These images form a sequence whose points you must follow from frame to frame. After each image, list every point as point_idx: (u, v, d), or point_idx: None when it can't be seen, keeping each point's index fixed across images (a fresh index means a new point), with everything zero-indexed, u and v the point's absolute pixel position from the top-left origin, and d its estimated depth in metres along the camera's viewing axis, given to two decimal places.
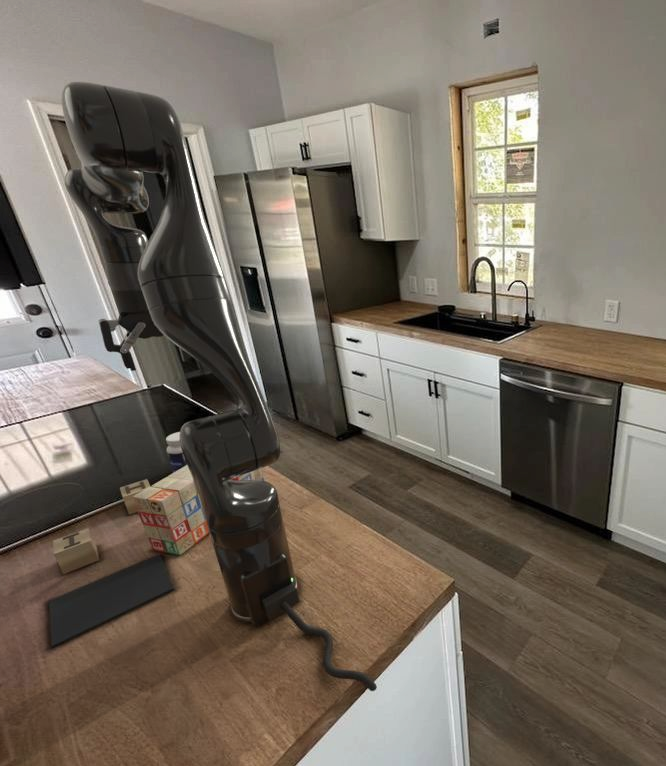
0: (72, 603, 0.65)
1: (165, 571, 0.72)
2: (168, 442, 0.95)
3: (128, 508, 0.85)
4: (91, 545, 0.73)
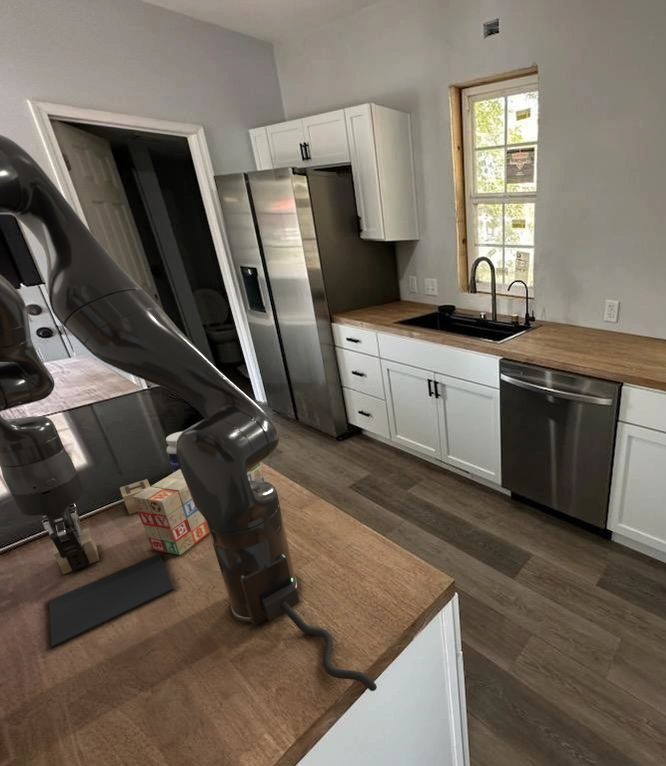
0: (72, 603, 0.65)
1: (165, 571, 0.72)
2: (168, 442, 0.95)
3: (128, 508, 0.85)
4: (91, 545, 0.73)
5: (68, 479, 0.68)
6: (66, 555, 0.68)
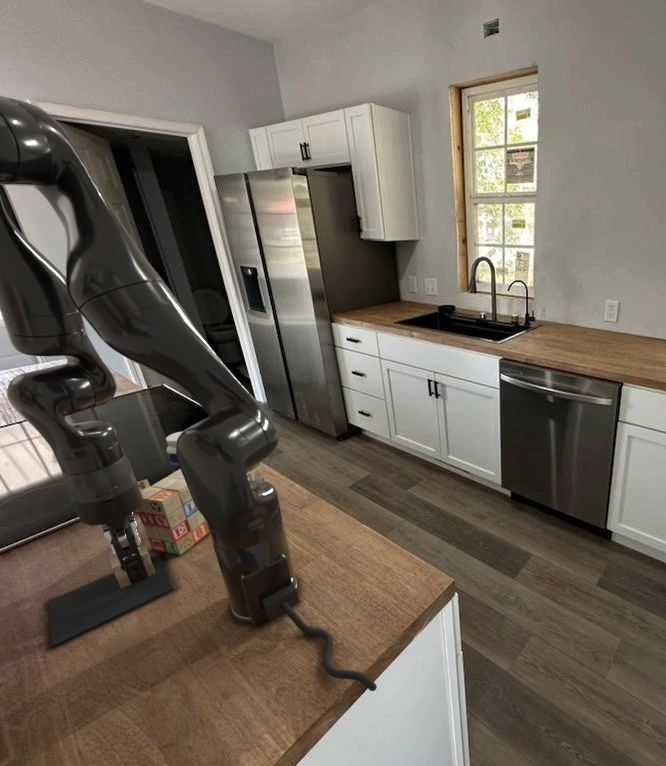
0: (72, 603, 0.65)
1: (165, 571, 0.72)
2: (168, 442, 0.95)
3: None
4: (148, 558, 0.70)
5: (129, 487, 0.65)
6: (127, 568, 0.64)
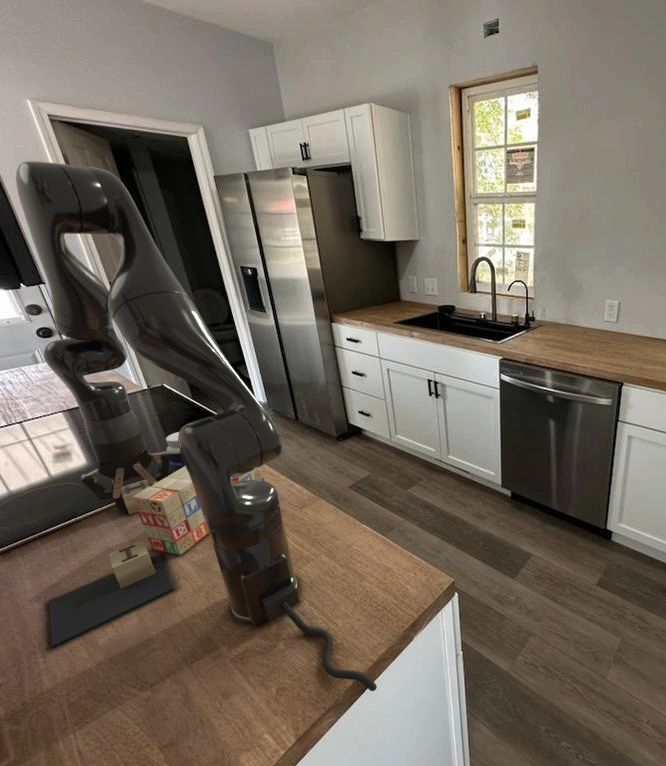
0: (72, 603, 0.65)
1: (165, 571, 0.72)
2: (168, 442, 0.95)
3: (128, 508, 0.85)
4: (148, 558, 0.70)
5: None
6: None
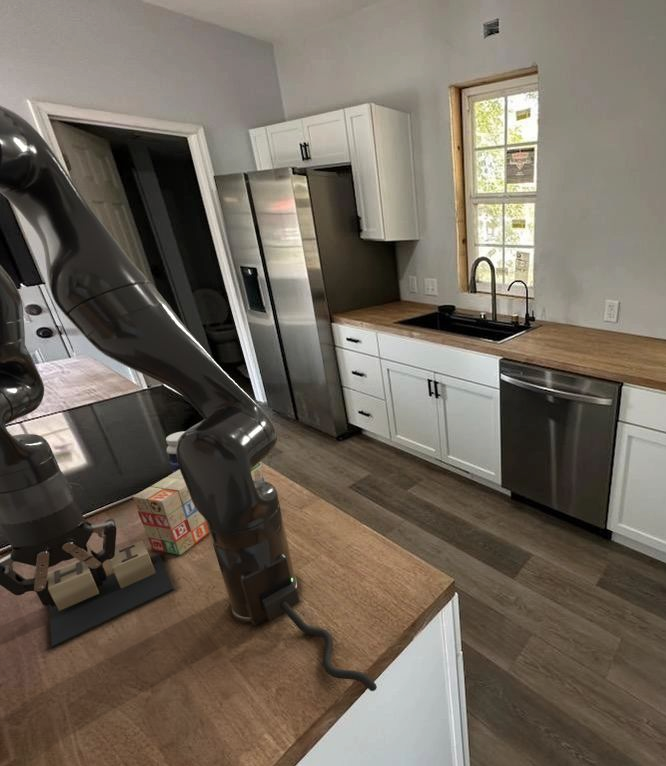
0: None
1: (165, 571, 0.72)
2: (168, 442, 0.95)
3: (57, 603, 0.62)
4: (148, 558, 0.70)
5: None
6: None
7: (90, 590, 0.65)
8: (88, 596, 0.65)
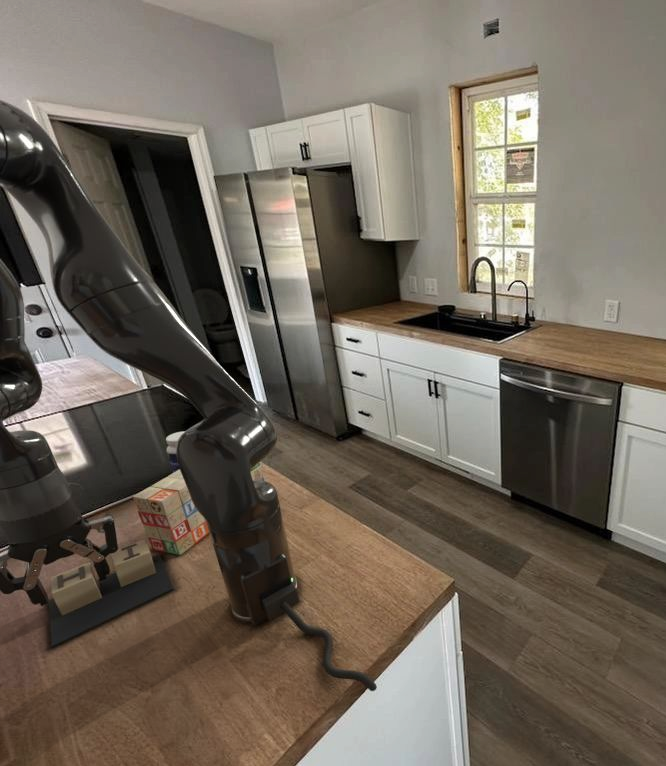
0: None
1: (165, 571, 0.72)
2: (168, 442, 0.95)
3: (60, 607, 0.63)
4: (150, 557, 0.70)
5: None
6: None
7: (93, 595, 0.65)
8: (91, 600, 0.65)
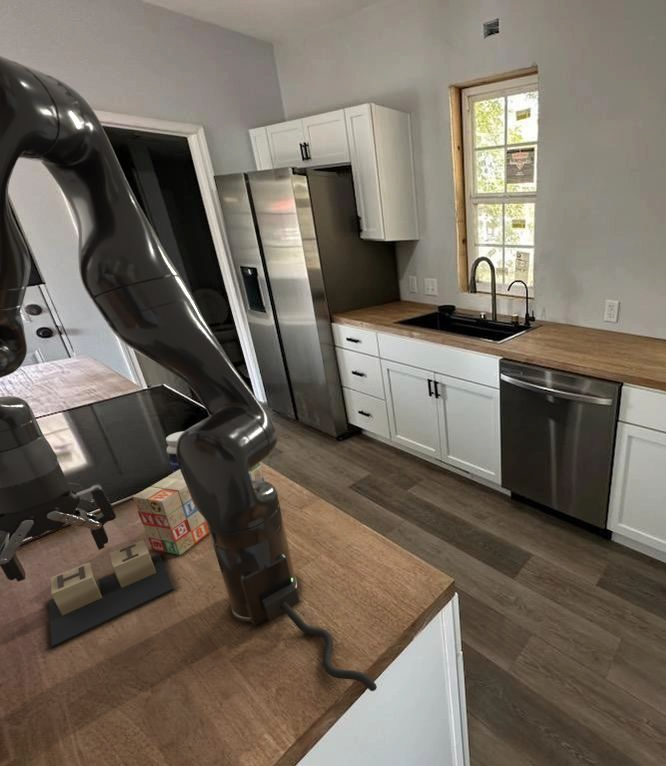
0: None
1: (165, 571, 0.72)
2: (168, 442, 0.95)
3: (60, 607, 0.63)
4: (149, 557, 0.70)
5: None
6: (114, 514, 0.66)
7: (93, 595, 0.65)
8: (91, 600, 0.65)
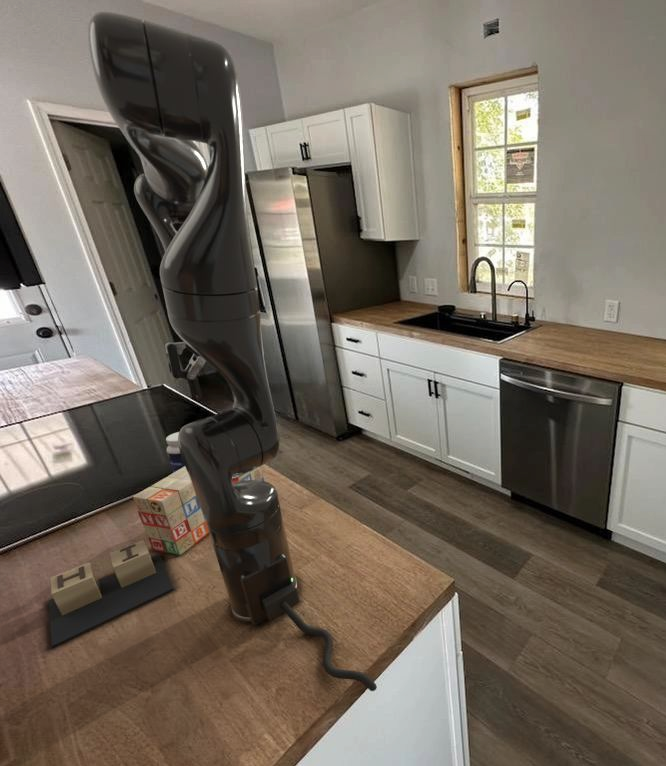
0: None
1: (165, 571, 0.72)
2: (168, 442, 0.95)
3: (60, 607, 0.63)
4: (149, 557, 0.70)
5: None
6: (263, 358, 0.79)
7: (93, 595, 0.65)
8: (91, 600, 0.65)
